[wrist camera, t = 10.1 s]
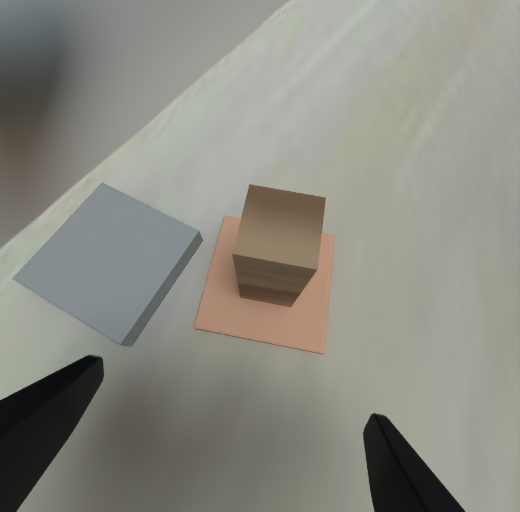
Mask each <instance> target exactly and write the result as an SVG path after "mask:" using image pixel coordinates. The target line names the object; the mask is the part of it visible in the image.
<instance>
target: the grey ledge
mask: <svg viewBox="0 0 520 512" xmlns="http://www.w3.org/2000/svg"><path fill="white" fill-rule="evenodd" d="M202 241H203V239H202V237H201V234H200V232H199V231H198V230H196V229H194V228H192V227H190V226H188V225H186V224H184V223H182V222H180V221H178V220H176V219H174V218H172V217H170V216H168V215H166V214H164V213H162V212H160V211H158V210H156V209H154V208H152V207H150V206H148V205H146V204H144V203H142V202H140V201H138V200H136V199H134V198H132V197H130V196H128V195H126V194H124V193H122V192H120V191H118V190H116V189H114V188H112V187H110V186H108V185H106V184H104V183H101V184H100V185H99V186H98V187H97V188H96V189H95V191H94V192H93V193H92V194H91V195H90V196H89V197H88V198H87V199H86V200H85V201H84V202H83V203H82V205H81V206H80V207H79V208H78V209H77V210H76V211H75V212H74V213H73V214H72V215H71V216H70V217H69V218H68V220H67V221H66V222H65V223H64V224H63V225H62V226H61V227H60V228H59V229H58V230H57V231H56V232H55V234H54V235H53V236H52V237H51V238H50V239H49V240H48V241H47V242H46V243H45V244H44V245H43V246H42V247H41V249H40V250H39V251H38V252H37V253H36V254H35V255H34V256H33V257H32V258H31V259H30V260H29V261H28V263H27V264H26V265H25V266H24V267H23V268H22V269H21V270H20V271H19V272H18V273H17V274H16V275H15V276H14V278H13V280H15V281H16V282H18V283H20V284H21V285H23V286H25V287H26V288H28V289H29V290H31V291H33V292H34V293H36V294H38V295H39V296H41V297H43V298H44V299H46V300H48V301H49V302H51V303H52V304H54V305H56V306H57V307H59V308H61V309H62V310H64V311H66V312H67V313H69V314H70V315H72V316H74V317H75V318H77V319H79V320H80V321H82V322H84V323H85V324H87V325H89V326H90V327H92V328H93V329H95V330H97V331H98V332H100V333H102V334H103V335H105V336H107V337H108V338H110V339H112V340H113V341H115V342H116V343H118V344H120V345H126V346H132V345H133V343H134V342H135V340H136V339H137V337H138V336H139V334H140V333H141V331H142V330H143V328H144V327H145V325H146V324H147V322H148V321H149V319H150V318H151V316H152V315H153V314H154V312H155V311H156V309H157V308H158V306H159V305H160V303H161V302H162V300H163V299H164V297H165V296H166V294H167V293H168V291H169V290H170V288H171V287H172V285H173V284H174V282H175V281H176V279H177V278H178V277H179V275H180V274H181V272H182V271H183V269H184V268H185V266H186V265H187V263H188V262H189V260H190V259H191V257H192V256H193V254H194V253H195V251H196V250H197V248H198V247H199V245H200V244H201V243H202Z"/></svg>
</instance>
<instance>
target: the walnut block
mask: <svg viewBox="0 0 520 512" xmlns="http://www.w3.org/2000/svg"><path fill="white" fill-rule="evenodd" d="M325 199H326V198H325V197H319V196H313V195H308V194H302V193H296V192H290V191H284V190H279V189H273V188H267V187H261V186H256V185H249V189H248V193H247V197H246V201H245V205H244V209H243V213H242V217H241V221H240V225H239V229H238V233H237V237H236V241H235V245H234V249H233V253H232V255H233V260H234V266H235V271H236V277H237V282H238V288H239V293H240V298H245V299H250V300H256V301H261V302H266V303H271V304H276V305H281V306H287V307H292V305H293V304H294V302H295V301H296V300H297V298H298V297H299V295H300V294H301V293H302V291H303V290H304V288H305V287H306V285H307V284H308V283H309V281H310V280H311V278H312V277H313V276H314V274H315V273H316V271H317V270H318V262H319V253H320V244H321V235H322V226H323V217H324V208H325Z"/></svg>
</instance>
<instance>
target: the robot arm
mask: <svg viewBox="0 0 520 512" xmlns="http://www.w3.org/2000/svg"><path fill="white" fill-rule="evenodd" d="M103 377H104V369H103V359H102V357H99V356H94V355H88V356H85V357H83V358H81V359H80V360H78V361H76V362H74V363H72V364H70V365H68V366H66V367H64V368H62V369H60V370H58V371H56V372H54V373H52V374H50V375H48V376H47V377H45V378H43V379H41V380H39V381H37V382H35V383H33V384H31V385H29V386H27V387H25V388H23V389H21V390H19V391H17V392H15V393H14V394H12V395H10V396H8V397H6V398H4V399H2V400H0V512H16V511H17V510H18V509H19V507H20V506H21V504H22V503H23V501H24V500H25V499H26V497H27V496H28V494H29V493H30V492H31V490H32V489H33V487H34V486H35V485H36V483H37V482H38V480H39V479H40V477H41V476H42V475H43V473H44V472H45V470H46V469H47V468H48V466H49V465H50V463H51V462H52V461H53V459H54V458H55V456H56V455H57V453H58V452H59V451H60V449H61V448H62V446H63V445H64V444H65V442H66V441H67V439H68V438H69V436H70V435H71V433H72V432H73V430H74V429H75V427H76V426H77V424H78V422H79V421H80V419H81V417H82V415H83V414H84V412H85V410H86V409H87V407H88V405H89V403H90V402H91V400H92V398H93V397H94V395H95V393H96V391H97V390H98V388H99V386H100V385H101V383H102V381H103ZM363 439H364V446H365V454H366V462H367V470H368V477H369V485H370V491H371V497H372V502H373V507H374V511H375V512H465V510H464V509H463V508H462V507H461V506H460V504H459V503H458V502H457V501H456V500H455V498H454V497H453V496H452V495H451V494H450V492H449V491H448V490H447V489H446V488H445V486H444V485H443V484H442V483H441V482H440V480H439V479H438V478H437V477H436V475H435V474H434V473H433V472H432V471H431V469H430V468H429V467H428V466H427V465H426V463H425V462H424V461H423V460H422V459H421V457H420V456H419V455H418V454H417V453H416V451H415V450H414V449H413V448H412V447H411V445H410V444H409V443H408V442H407V441H406V439H405V438H404V437H403V436H402V435H401V433H400V432H399V431H398V430H397V428H396V427H395V426H394V425H393V424H392V422H391V421H390V420H389V419H388V418H387V417H386V416H384V415H380V414H376V413H373V414H371V416H370V418H369V420H368V422H367V424H366V426H365V428H364V432H363Z"/></svg>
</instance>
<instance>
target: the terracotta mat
mask: <svg viewBox="0 0 520 512" xmlns="http://www.w3.org/2000/svg"><path fill="white" fill-rule="evenodd" d="M240 221H241V218H235V217H229V216H224V220H223V223H222V227H221V231H220V234H219V238H218V241H217V245H216V249H215V252H214V256H213V260H212V263H211V267H210V271H209V274H208V278H207V281H206V285H205V289H204V292H203V296H202V300H201V303H200V307H199V310H198V314H197V318H196V321H195V325H194V328H195V329H200V330H205V331H210V332H215V333H220V334H225V335H230V336H235V337H240V338H245V339H250V340H255V341H260V342H265V343H270V344H275V345H280V346H285V347H290V348H295V349H300V350H305V351H310V352H315V353H320V354H325V343H326V332H327V320H328V309H329V298H330V287H331V275H332V264H333V253H334V241H335V235H330V234H325V233H322V235H321V244H320V253H319V262H318V270H317V271H316V273H315V274H314V276H313V277H312V278H311V280H310V281H309V283H308V284H307V285H306V287H305V288H304V290H303V291H302V293H301V294H300V295H299V297H298V298H297V300H296V301H295V302H294V304H293V305H292V307H287V306H281V305H276V304H271V303H266V302H261V301H256V300H250V299H245V298H240V293H239V288H238V282H237V277H236V271H235V266H234V260H233V255H232V253H233V249H234V245H235V241H236V237H237V233H238V229H239V225H240Z"/></svg>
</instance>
